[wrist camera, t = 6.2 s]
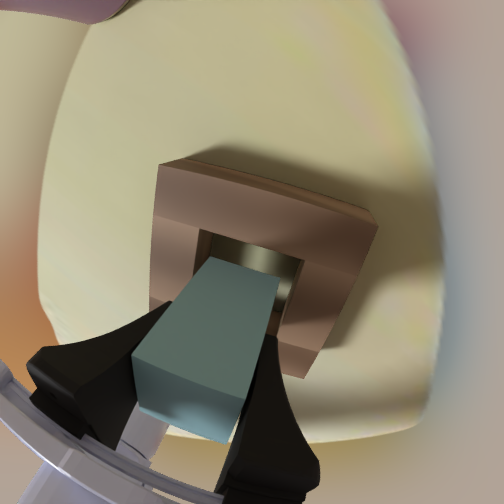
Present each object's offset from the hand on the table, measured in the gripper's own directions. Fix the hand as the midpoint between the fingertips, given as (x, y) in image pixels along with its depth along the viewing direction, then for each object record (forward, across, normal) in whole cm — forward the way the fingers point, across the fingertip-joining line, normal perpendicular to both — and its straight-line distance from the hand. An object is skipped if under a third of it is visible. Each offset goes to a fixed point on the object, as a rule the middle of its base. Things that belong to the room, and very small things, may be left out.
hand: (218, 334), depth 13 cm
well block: (+7, 0, 0) cm, 7 cm away
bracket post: (+4, 0, 0) cm, 4 cm away
